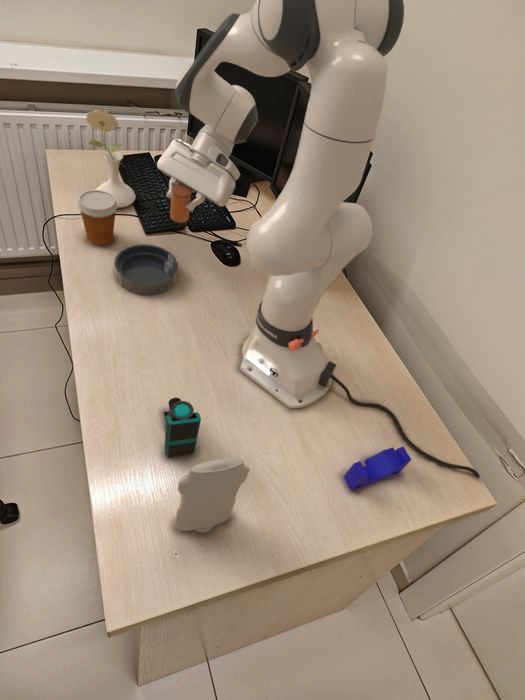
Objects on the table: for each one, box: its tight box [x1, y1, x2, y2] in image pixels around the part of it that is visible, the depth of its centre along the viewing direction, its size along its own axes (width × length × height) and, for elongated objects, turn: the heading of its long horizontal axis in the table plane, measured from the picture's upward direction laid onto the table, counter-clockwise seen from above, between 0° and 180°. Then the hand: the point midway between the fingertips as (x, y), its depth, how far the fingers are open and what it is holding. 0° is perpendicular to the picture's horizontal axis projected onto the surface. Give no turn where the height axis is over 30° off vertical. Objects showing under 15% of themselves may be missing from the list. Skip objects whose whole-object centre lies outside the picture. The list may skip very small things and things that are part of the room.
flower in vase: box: [84, 109, 137, 209], centre depth 126 cm, size 13×11×25 cm
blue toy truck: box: [343, 446, 413, 492], centre depth 91 cm, size 12×4×6 cm, turn 114°
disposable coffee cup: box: [76, 189, 118, 246], centre depth 119 cm, size 10×10×12 cm
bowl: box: [113, 243, 179, 296], centre depth 116 cm, size 15×15×4 cm
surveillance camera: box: [163, 397, 202, 458], centre depth 86 cm, size 6×12×10 cm
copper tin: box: [169, 184, 193, 224], centre depth 113 cm, size 5×5×8 cm
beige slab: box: [174, 457, 250, 534], centre depth 72 cm, size 11×4×22 cm, turn 107°
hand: (178, 204), depth 112 cm, fingers closed on copper tin, 4 cm apart
